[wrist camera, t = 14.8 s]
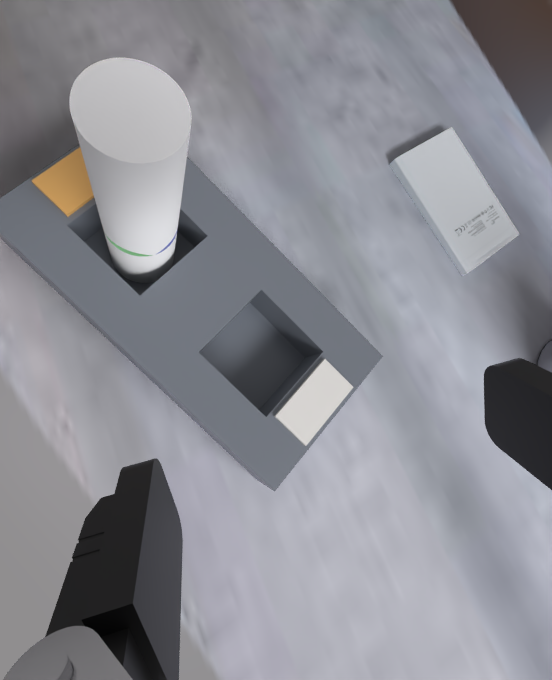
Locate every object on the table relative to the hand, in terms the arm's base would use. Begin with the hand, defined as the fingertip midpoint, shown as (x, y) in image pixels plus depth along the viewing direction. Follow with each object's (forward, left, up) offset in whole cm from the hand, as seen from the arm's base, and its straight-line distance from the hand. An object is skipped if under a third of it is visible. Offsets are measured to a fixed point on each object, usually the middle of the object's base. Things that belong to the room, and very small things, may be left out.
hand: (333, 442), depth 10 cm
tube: (-5, -12, -21) cm, 24 cm away
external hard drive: (-30, +3, -22) cm, 38 cm away
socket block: (-5, -7, -21) cm, 23 cm away
